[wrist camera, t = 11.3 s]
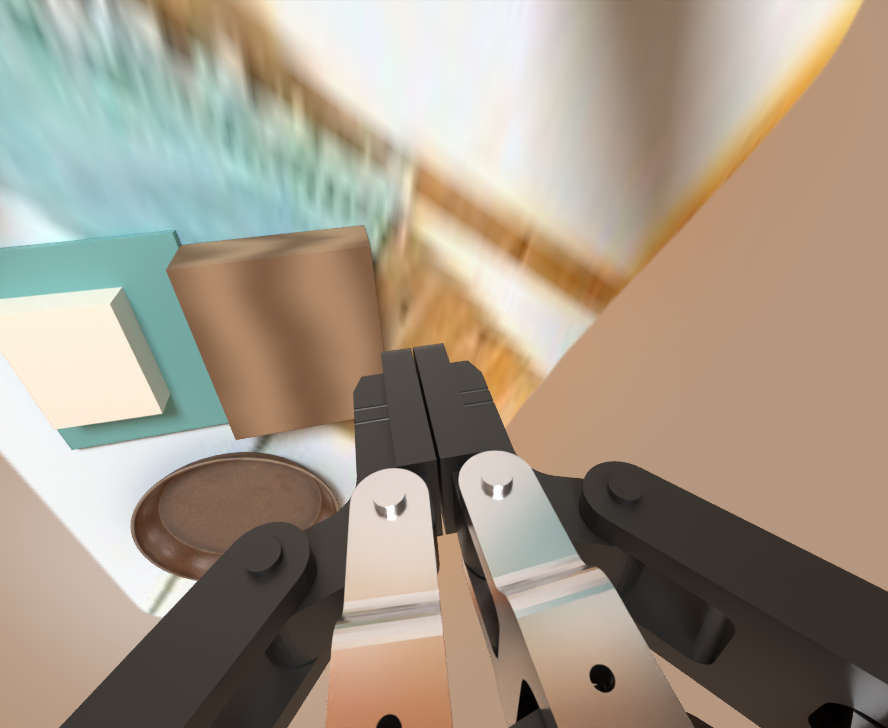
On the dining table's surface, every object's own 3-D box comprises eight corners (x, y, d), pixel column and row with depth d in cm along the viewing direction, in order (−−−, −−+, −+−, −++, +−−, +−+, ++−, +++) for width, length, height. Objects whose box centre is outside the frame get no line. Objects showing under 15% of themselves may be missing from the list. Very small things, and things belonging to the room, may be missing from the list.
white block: (-23, 317, 27) (-1, 299, 29) (54, 429, 32) (68, 407, 34) (109, 303, 28) (122, 286, 30) (162, 413, 34) (170, 393, 36)
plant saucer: (295, 410, 40) (294, 434, 38) (361, 522, 51) (364, 546, 49) (95, 476, 40) (81, 504, 37) (205, 576, 50) (200, 603, 48)
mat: (174, 230, 30) (172, 233, 29) (245, 415, 39) (244, 420, 39) (-60, 254, 28) (-66, 258, 27) (74, 444, 37) (71, 450, 36)
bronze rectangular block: (364, 225, 32) (370, 246, 29) (385, 382, 41) (391, 412, 37) (180, 245, 30) (165, 269, 27) (241, 406, 39) (235, 439, 35)
